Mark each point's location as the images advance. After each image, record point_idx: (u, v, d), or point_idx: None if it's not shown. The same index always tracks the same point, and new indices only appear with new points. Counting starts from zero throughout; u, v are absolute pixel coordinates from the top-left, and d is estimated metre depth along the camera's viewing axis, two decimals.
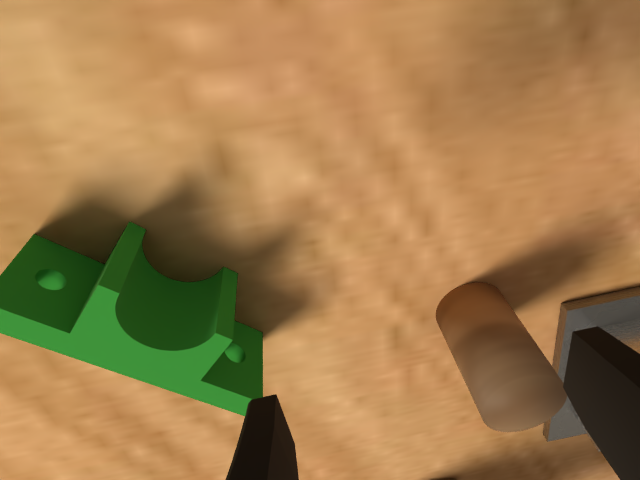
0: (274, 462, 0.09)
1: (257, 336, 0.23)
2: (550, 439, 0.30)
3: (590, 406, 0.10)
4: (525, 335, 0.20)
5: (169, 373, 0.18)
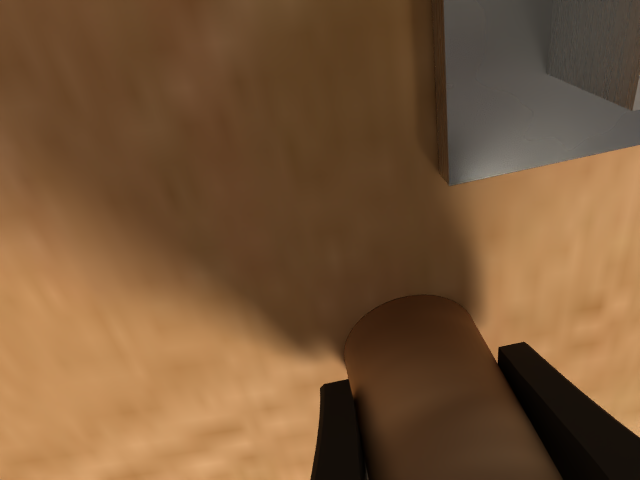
0: (358, 444, 0.09)
1: None
2: None
3: None
4: (385, 463, 0.09)
5: None
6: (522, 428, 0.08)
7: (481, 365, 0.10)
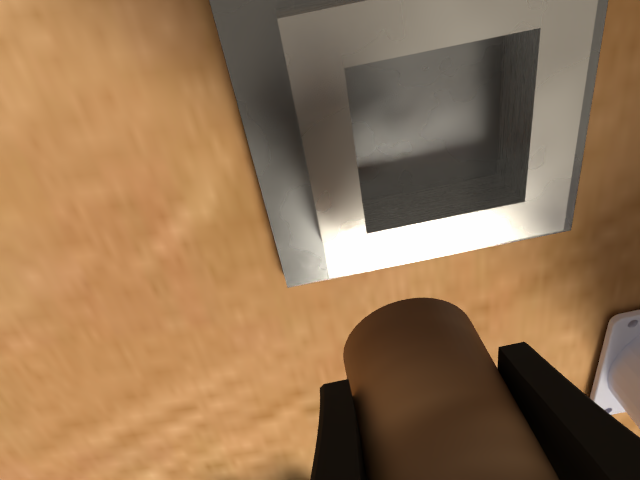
0: (358, 444, 0.09)
1: None
2: (567, 227, 0.19)
3: None
4: (386, 463, 0.09)
5: None
6: (523, 432, 0.09)
7: (482, 369, 0.10)
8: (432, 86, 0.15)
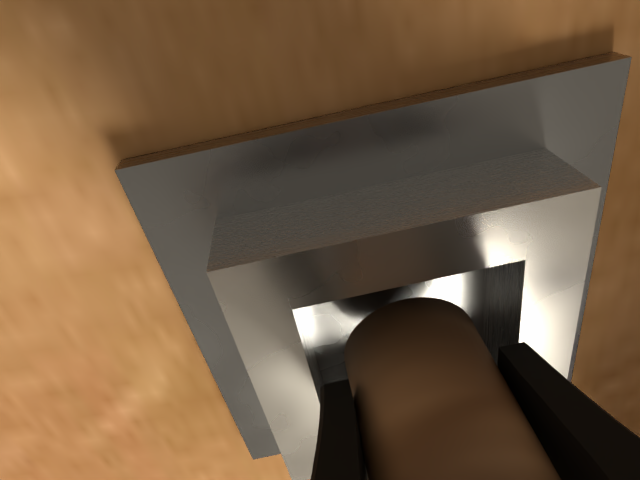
0: (358, 445, 0.09)
1: None
2: None
3: None
4: (388, 461, 0.09)
5: None
6: (524, 432, 0.09)
7: (484, 368, 0.10)
8: None
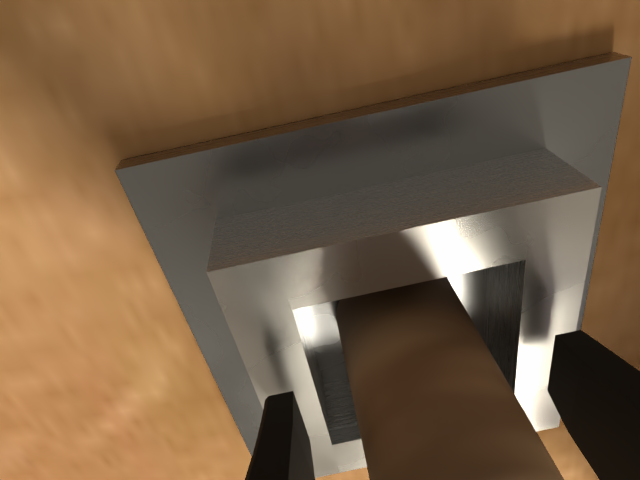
0: (294, 458, 0.09)
1: None
2: None
3: (572, 410, 0.10)
4: (372, 393, 0.10)
5: None
6: (491, 367, 0.10)
7: (458, 318, 0.11)
8: None
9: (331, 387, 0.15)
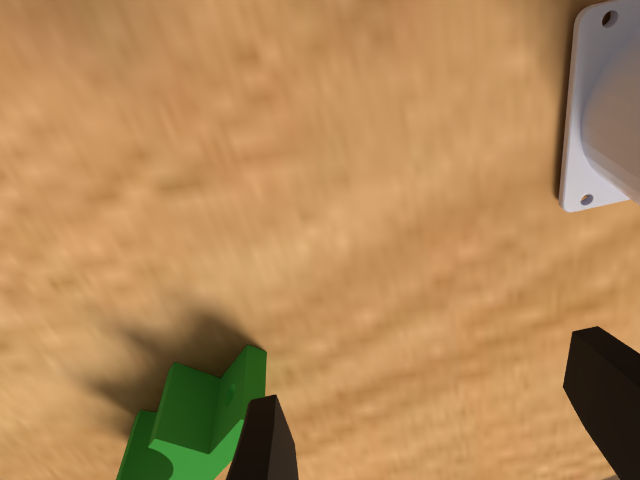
0: (274, 462, 0.09)
1: (244, 355, 0.23)
2: None
3: (590, 406, 0.10)
4: None
5: (201, 469, 0.21)
6: None
7: None
8: None
9: None
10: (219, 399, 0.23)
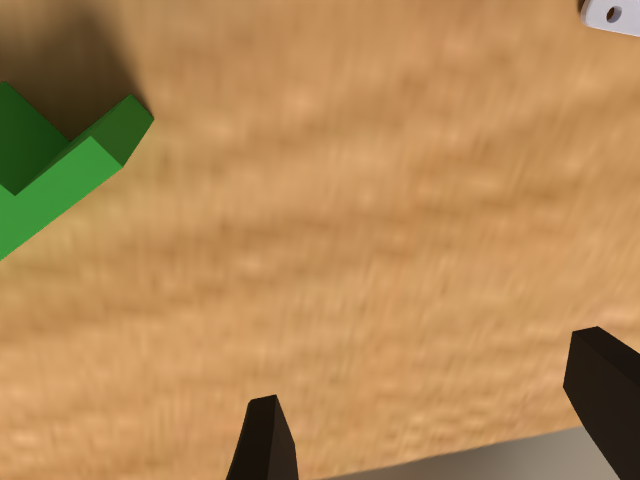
0: (274, 462, 0.09)
1: (120, 102, 0.15)
2: None
3: (590, 406, 0.10)
4: None
5: None
6: None
7: None
8: None
9: None
10: (58, 154, 0.15)
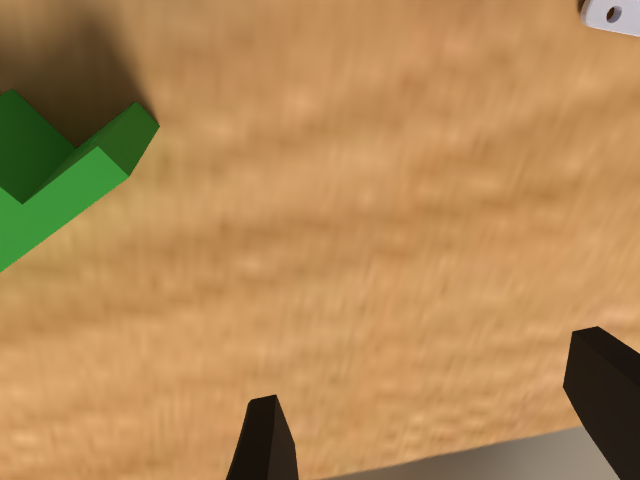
0: (274, 462, 0.09)
1: (126, 110, 0.15)
2: None
3: (590, 406, 0.10)
4: None
5: None
6: None
7: None
8: None
9: None
10: (64, 161, 0.15)
